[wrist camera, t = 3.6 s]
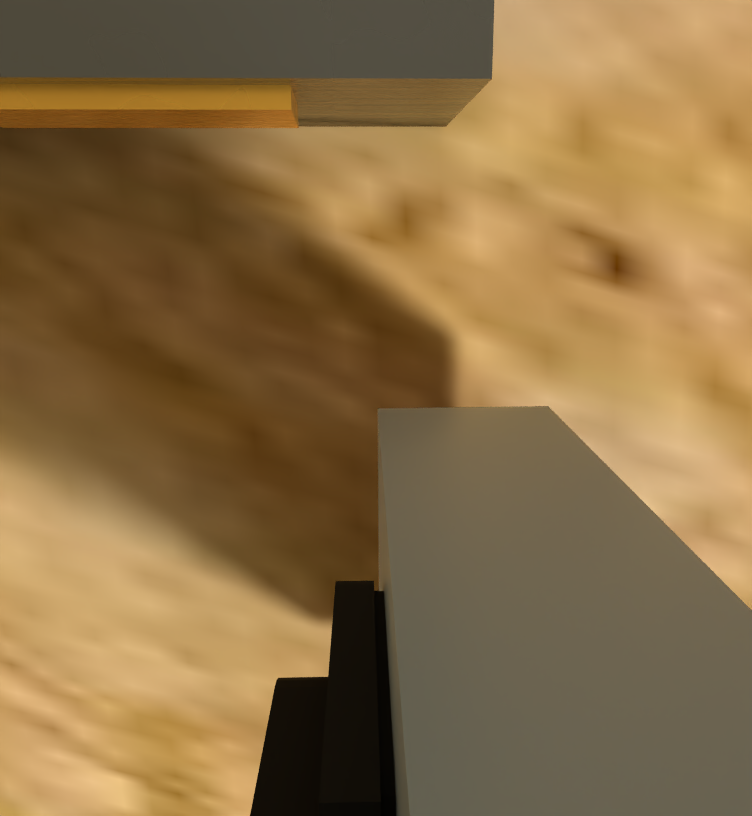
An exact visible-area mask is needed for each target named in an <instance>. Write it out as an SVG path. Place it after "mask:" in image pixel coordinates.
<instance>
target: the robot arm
mask: <svg viewBox="0 0 752 816" xmlns="http://www.w3.org/2000/svg"><path fill="white" fill-rule="evenodd" d="M250 816H396V792H395V771H394V754H393V737H392V720H391V702H390V685H389V668H388V651H387V634H386V617H385V600H384V591H374V581H336V584H335V597H334V610H333V623H332V636H331V649H330V662H329V675H328V677H299V678H278V679H277V681H276V685H275V689H274V694H273V700H272V705H271V710H270V715H269V720H268V726H267V731H266V736H265V741H264V747H263V752H262V757H261V762H260V767H259V773H258V778H257V783H256V788H255V793H254V799H253V804H252V809H251V814H250Z"/></svg>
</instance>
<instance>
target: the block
mask: <svg viewBox="0 0 752 816" xmlns="http://www.w3.org/2000/svg"><path fill="white" fill-rule="evenodd" d="M378 540H379V591H384V600H385V617H386V634H387V651H388V668H389V685H390V702H391V720H392V737H393V754H394V771H395V792H396V816H752V610H751V609H750V608H749V607H748V606H747V605H746V604H745V603H744V602H743V601H742V600H741V599H740V598H739V597H738V596H737V595H736V594H735V593H734V592H733V591H732V590H731V589H730V588H729V587H728V586H727V585H726V584H725V583H724V582H723V581H722V580H721V579H720V578H719V577H718V576H717V575H716V574H715V573H714V572H713V571H712V570H711V569H710V568H709V567H708V566H707V565H706V564H705V563H704V562H703V561H702V560H701V559H700V558H699V557H698V556H697V555H696V554H695V553H694V552H693V551H692V550H691V549H690V548H689V547H688V546H687V545H686V544H685V543H684V542H683V541H682V540H681V539H680V538H679V537H678V536H677V535H676V534H675V533H674V532H673V531H672V530H671V529H670V528H669V527H668V526H667V525H666V524H665V523H664V522H663V521H662V520H661V519H660V518H659V517H658V516H657V515H656V514H655V513H654V512H653V511H652V510H651V509H650V508H649V507H648V506H647V505H646V504H645V503H644V502H643V501H642V500H641V499H640V498H639V497H638V496H637V495H636V494H635V493H634V492H633V491H632V490H631V489H630V488H629V487H628V486H627V485H626V484H625V483H624V482H623V481H622V480H621V479H620V478H619V477H618V476H617V475H616V474H615V473H614V472H613V471H612V470H611V469H610V468H609V467H608V466H607V465H606V464H605V463H604V462H603V461H602V460H601V459H600V458H599V457H598V456H597V455H596V454H595V453H594V452H593V451H592V450H591V449H590V448H589V447H588V446H587V445H586V444H585V443H584V442H583V441H582V440H581V439H580V438H579V437H578V436H577V435H576V434H575V433H574V432H573V431H572V430H571V429H570V428H569V427H568V426H567V425H566V424H565V423H564V422H563V421H562V420H561V419H560V418H559V417H558V416H557V415H556V414H555V413H554V412H553V411H552V410H551V409H550V408H549V407H548V406H535V407H445V408H378Z"/></svg>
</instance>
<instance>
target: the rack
mask: <svg viewBox="0 0 752 816" xmlns="http://www.w3.org/2000/svg"><path fill="white" fill-rule="evenodd" d="M493 23H494V0H0V127H3V128H299V126H447V125H448V124H449V123H450V121H451V120H452V119H453V118H454V117H455V116H456V115H457V114H458V113H459V112H460V111H461V110H462V109H463V108H464V107H465V106H466V105H467V104H468V103H469V102H470V101H471V100H472V99H473V98H474V97H475V96H476V95H477V94H478V93H479V92H480V91H481V89H482V88H483V87H484V86H485V85H486V84H487V83H488V82H489V81H490V80H491V79H492V56H493Z"/></svg>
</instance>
